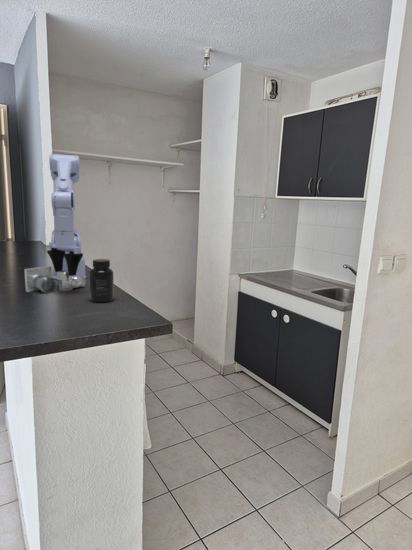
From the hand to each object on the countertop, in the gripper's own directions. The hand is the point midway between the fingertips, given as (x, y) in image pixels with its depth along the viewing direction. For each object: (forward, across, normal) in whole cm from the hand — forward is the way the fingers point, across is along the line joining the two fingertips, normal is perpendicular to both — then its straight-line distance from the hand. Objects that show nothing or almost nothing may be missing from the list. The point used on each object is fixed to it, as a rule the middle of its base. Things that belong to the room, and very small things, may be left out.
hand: (65, 273), depth 120 cm
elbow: (+5, 0, +2) cm, 6 cm away
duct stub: (+5, -3, -6) cm, 9 cm away
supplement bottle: (+6, +17, +1) cm, 18 cm away
